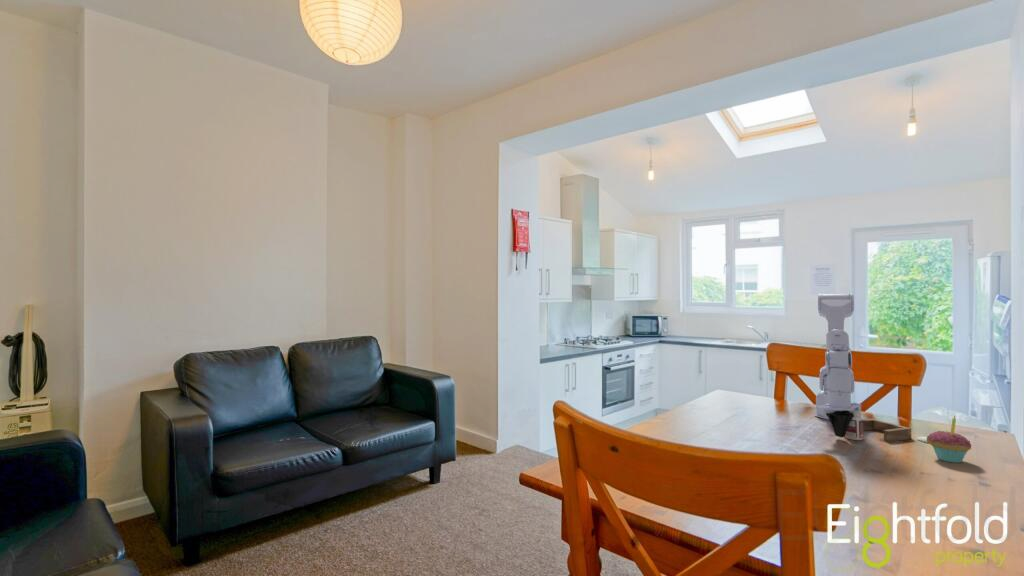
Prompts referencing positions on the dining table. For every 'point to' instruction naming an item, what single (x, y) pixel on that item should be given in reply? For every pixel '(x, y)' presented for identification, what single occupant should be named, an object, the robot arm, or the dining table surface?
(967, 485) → the dining table surface
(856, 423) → the pill bottle
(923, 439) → the disc
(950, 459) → the cupcake
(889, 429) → the walnut corral
